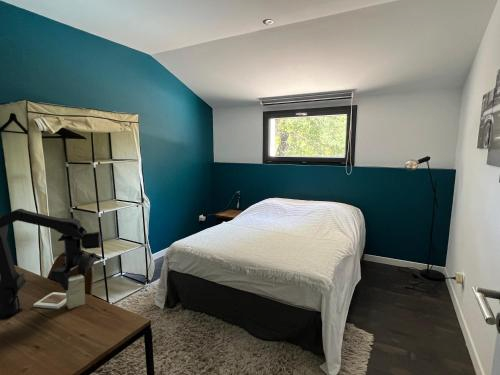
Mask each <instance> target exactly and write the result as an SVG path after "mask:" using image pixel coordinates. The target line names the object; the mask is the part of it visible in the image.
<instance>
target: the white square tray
mask: <svg viewBox="0 0 500 375" xmlns="http://www.w3.org/2000/svg"><path fill="white" fill-rule="evenodd" d="M64 305H66V292H56V291H55V292H51V293H49V294H47V295H46V296H44V297H43V298H42V299H40V300H38V301H36V302H35V303H33V307H34V308H35V307H36V308H44V309H46V308H47V309H54V310H55V309H56V310H58V309H60V308H61V307H63V306H64Z"/></svg>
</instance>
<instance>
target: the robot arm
mask: <svg viewBox="0 0 500 375" xmlns="http://www.w3.org/2000/svg"><path fill="white" fill-rule="evenodd" d="M17 221H18V222H22V223H26V224H31V225H35V226H38V227H39V226H40V227H45V228H48V229H52V230H54V231H56V232H57V233H59V234H61V236H60V237H59V238H58V239H57V241H58V242H63V245H64V252H63V253H62V254H61V256H62V257H64V260H65V261H64V262H63V263H62V266H65V267H59V266H58V267H56V268H54V269H53V270H51V271H50V272H49V279H52V280H56V281H57V282H58V284H60V286H61V287H62V288H63V289H64V291H65V292H66V291H67V290H68V284H69V278H70V277H72V275H71V274H72V270H74V269H75V268H77V272H78V275H80V274H82V275H83V276H84V279H85V278H86V275H87V270H89V269H90V268H93V267H94V265H95V263H96V262H97V260H98V259H97V253H95V252H91V253H90V254H88V253H87V254H85V251H84V250H83V249H85V250H88V249H90V250H91V249H100V248H101V247H102V236H101V232H100V231H95V232H94V231H93V232H88V231H87V230H86V228H84V227H83V225H82V223H81V221H80V220H79V219H77V218H68V217H55V216H50V215H47V214H43V213H39V212H34V211H30V210H27V209H26V210H25V209H24V208H17V209H15V210H13V211H11V212H9V213H7V214H5V215H2V216H1V215H0V320H9V319H11V318H13V317H14V316H15V315H17V314H19V313H21V312H22V311H24V309H23V308H21V305H20V304H21V303H20V297H19V294H20V292H21V291H22V290H23V289H24V288H25V286H26V283H27V280H26V279H25V274H24V272H23V273H19V272H17V270H16V266H15V263H14V259H13V256H12V255H13V254H12V252H11V250H10V246H9V242H8V233H9V225H10V224H12V223H15V222H17Z"/></svg>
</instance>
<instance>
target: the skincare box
mask: <svg viewBox="0 0 500 375" xmlns="http://www.w3.org/2000/svg"><path fill="white" fill-rule="evenodd" d="M85 290H86V289H85V278H84V276H83V275H82V274H80V275H79V274H76V275H73V276H72V275H71V277H70V278H69V284H68V290H67V291H65V293H66V303H65V305H66V307H67V308H68V310H71V309H73V308H77V307H81V306H83V305H86V293H85Z"/></svg>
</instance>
